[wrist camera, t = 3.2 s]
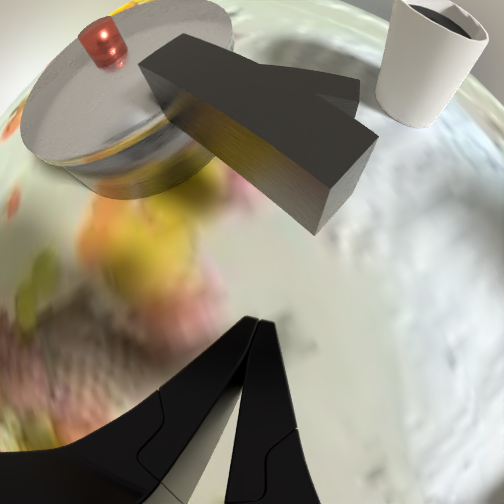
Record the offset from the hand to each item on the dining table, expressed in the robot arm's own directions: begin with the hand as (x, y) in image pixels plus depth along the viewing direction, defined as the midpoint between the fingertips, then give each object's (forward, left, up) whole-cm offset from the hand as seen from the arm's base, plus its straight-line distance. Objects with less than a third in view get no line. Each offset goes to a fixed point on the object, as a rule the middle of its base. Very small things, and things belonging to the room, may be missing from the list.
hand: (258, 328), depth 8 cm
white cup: (+21, 0, -9) cm, 23 cm away
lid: (+7, +13, -3) cm, 15 cm away
